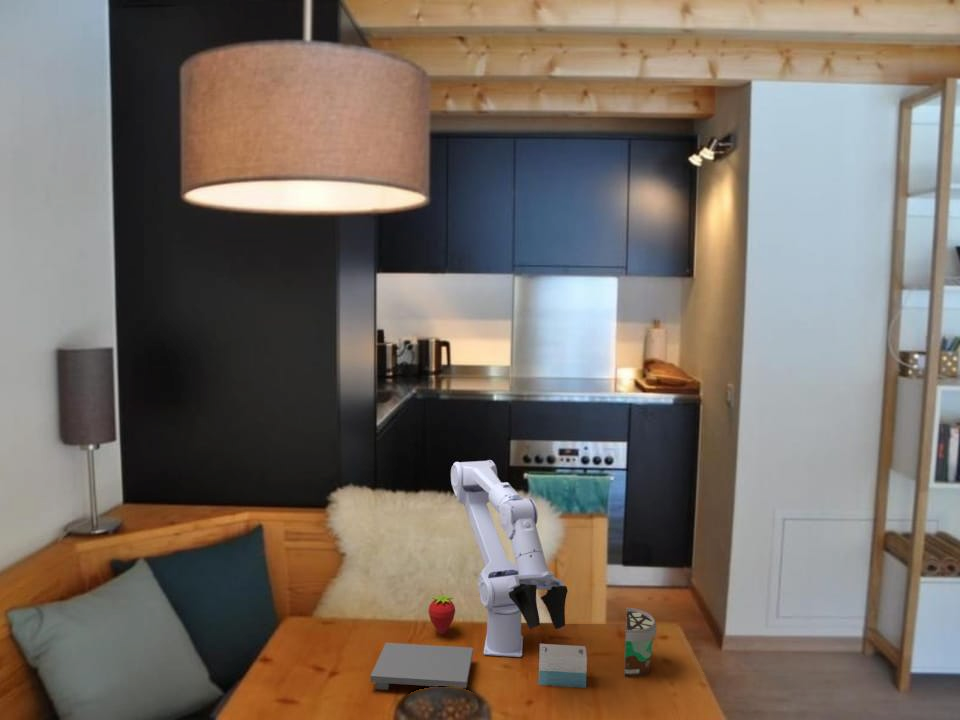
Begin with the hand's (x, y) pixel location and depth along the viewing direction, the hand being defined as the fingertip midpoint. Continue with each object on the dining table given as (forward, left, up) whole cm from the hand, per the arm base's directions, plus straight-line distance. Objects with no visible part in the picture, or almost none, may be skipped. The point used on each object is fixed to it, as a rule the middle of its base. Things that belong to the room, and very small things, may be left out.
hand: (547, 627), depth 138 cm
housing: (-6, +3, -13) cm, 15 cm away
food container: (-13, +19, -13) cm, 27 cm away
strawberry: (-23, -23, -13) cm, 35 cm away
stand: (-4, -24, -13) cm, 27 cm away
